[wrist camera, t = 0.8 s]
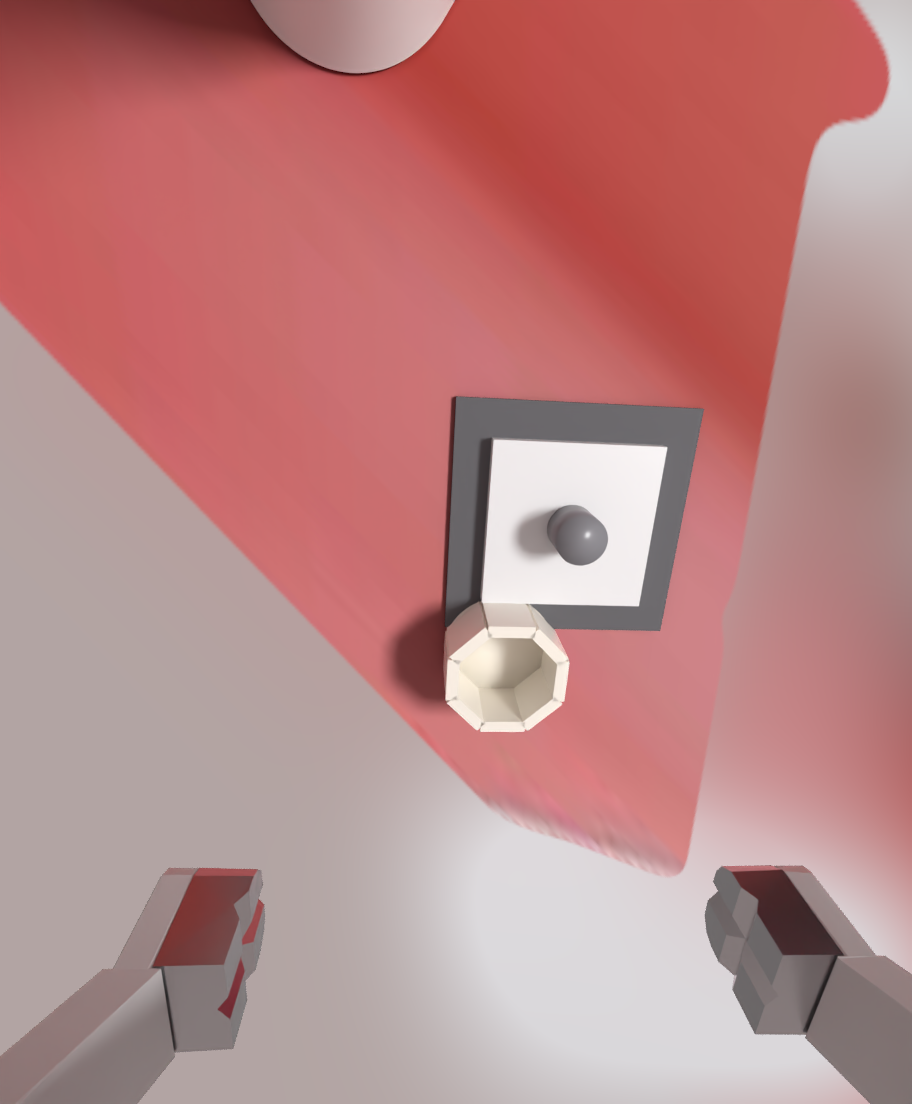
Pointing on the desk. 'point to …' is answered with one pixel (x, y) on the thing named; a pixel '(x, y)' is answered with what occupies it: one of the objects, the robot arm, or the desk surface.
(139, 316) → the desk surface
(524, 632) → the bowl
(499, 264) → the desk surface
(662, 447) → the cover
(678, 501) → the mat
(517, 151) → the desk surface
